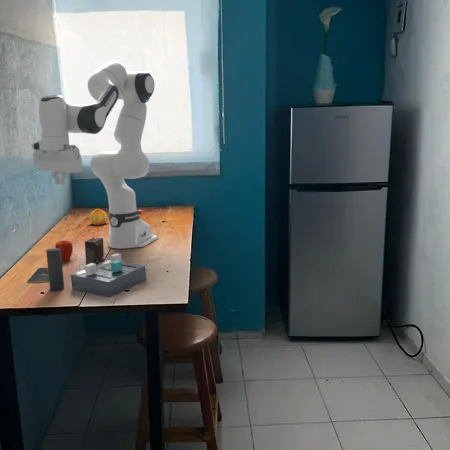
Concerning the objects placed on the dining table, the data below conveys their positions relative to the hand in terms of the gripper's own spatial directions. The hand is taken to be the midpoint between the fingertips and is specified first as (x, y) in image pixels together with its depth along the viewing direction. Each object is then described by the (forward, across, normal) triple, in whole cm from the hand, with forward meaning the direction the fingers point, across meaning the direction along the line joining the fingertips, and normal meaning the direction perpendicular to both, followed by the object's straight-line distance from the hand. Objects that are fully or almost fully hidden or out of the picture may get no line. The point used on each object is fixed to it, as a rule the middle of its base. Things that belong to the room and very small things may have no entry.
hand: (60, 184), depth 185 cm
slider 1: (+26, -22, +11) cm, 36 cm away
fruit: (+31, +41, -60) cm, 79 cm away
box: (+31, -11, -3) cm, 33 cm away
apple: (+31, +11, -9) cm, 34 cm away
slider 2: (+26, -22, -1) cm, 34 cm away
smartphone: (+32, +4, +8) cm, 33 cm away
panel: (+31, -24, +5) cm, 40 cm away
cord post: (+31, -11, +16) cm, 36 cm away
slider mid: (+26, -27, +5) cm, 38 cm away
